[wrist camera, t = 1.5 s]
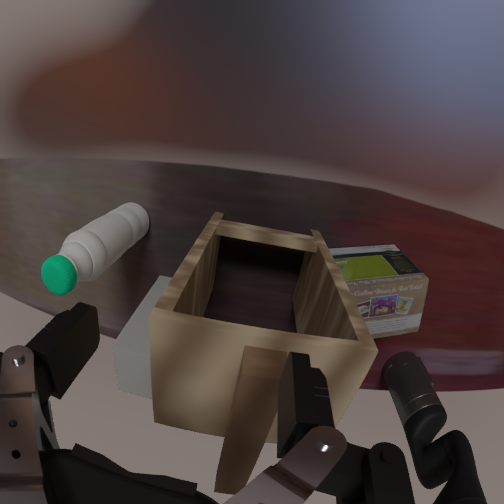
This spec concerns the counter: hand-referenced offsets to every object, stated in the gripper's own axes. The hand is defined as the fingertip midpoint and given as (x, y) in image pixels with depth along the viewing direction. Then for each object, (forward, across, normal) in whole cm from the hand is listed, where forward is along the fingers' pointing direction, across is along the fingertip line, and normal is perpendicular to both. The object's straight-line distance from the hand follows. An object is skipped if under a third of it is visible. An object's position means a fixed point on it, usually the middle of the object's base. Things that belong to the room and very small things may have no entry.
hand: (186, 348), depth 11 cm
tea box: (+42, +22, -10) cm, 48 cm away
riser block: (+41, -10, -23) cm, 48 cm away
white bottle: (+41, -20, -9) cm, 46 cm away
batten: (+9, +4, -17) cm, 20 cm away
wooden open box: (+41, +4, -12) cm, 43 cm away
